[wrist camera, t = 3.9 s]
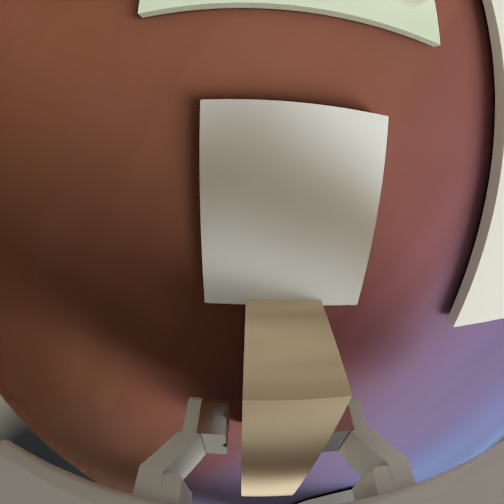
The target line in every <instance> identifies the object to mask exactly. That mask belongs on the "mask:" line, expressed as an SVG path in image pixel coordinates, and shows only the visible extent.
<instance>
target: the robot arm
mask: <svg viewBox="0 0 504 504" xmlns="http://www.w3.org/2000/svg"><path fill="white" fill-rule="evenodd" d="M228 432H229V400H217V399H205V398H196V397H189V400H188V403H187V408H186V413H185V418H184V424H183V429H182V432H181V431H178V432H177V433H176V434H175V435H174V436H173V437H171V438H170V439H169V440H168V441H167V442H166V443H165V444H164V445H163V446H161V447H160V448H159V449H158V450H157V451H156V452H155V453H154V454H152V455H151V456H150V457H149V458H148V459H147V460H145V461H144V462H143V463H142V464H141V465H140V466H139V470H138V474H137V478H136V482H135V486H134V490H133V494H129V493H126V492H122V491H119V490H116V489H113V488H110V487H107V486H104V485H101V484H98V483H95V482H92V481H89V480H87V479H84V478H82V477H79V476H77V475H75V474H72V473H70V472H67V471H65V470H63V469H61V468H59V467H57V466H54V465H52V464H50V463H48V462H46V461H44V460H43V459H41V458H38V457H37V456H35V455H33V454H31V453H30V452H28V451H26V450H24V449H23V448H21V447H19V446H17V445H16V444H14V443H13V442H11V441H8V440H3V441H0V504H191V497H192V493H191V491H190V490H189V488H188V486H187V485H186V483H185V481H184V478H185V477H186V476H187V475H188V474H189V473H190V472H191V471H192V469H193V468H194V467H195V466H196V465H197V464H198V463H199V461H200V460H201V459H202V458H203V457H204V456H205V454H206V453H216V454H227V450H228ZM337 450H338V452H339V453H340V455H341V456H342V457H343V458H344V459H345V460H346V461H347V462H348V463H349V464H350V466H351V467H352V468H353V469H354V470H355V471H356V472H357V473H358V474H359V475H360V476H361V477H362V478H363V479H362V480H361V481H359V482H358V483H357V484H356V485H355V486H354V487H353V488H352V489H351V490H347V491H343V492H338V493H334V494H330V495H326V496H322V497H318V498H314V499H311V500H307V501H304V502H301V503H298V504H504V440H503V441H501V442H500V443H498V444H497V445H495V446H493V447H492V448H490V449H488V450H487V451H485V452H483V453H481V454H480V455H478V456H476V457H474V458H472V459H470V460H468V461H466V462H464V463H462V464H460V465H458V466H456V467H454V468H452V469H450V470H448V471H445V472H443V473H441V474H438V475H436V476H434V477H431V478H429V479H426V480H423V481H421V482H418V483H415V480H414V476H413V473H412V470H411V466H410V463H409V460H408V458H407V457H406V456H405V455H404V454H402V453H401V452H400V451H399V450H397V449H396V448H395V447H394V446H392V445H391V444H390V443H389V442H387V441H386V440H385V439H384V438H383V437H381V436H380V435H379V434H378V433H376V432H375V431H374V430H373V429H372V428H367V425H366V422H365V418H364V415H363V412H362V408H361V405H360V402H359V399H358V397H357V396H352V397H351V399H350V401H349V403H348V405H347V407H346V409H345V411H344V413H343V415H342V417H341V419H340V421H339V423H338V425H337V426H336V428H335V430H334V432H333V434H332V435H331V437H330V439H329V440H328V442H327V444H326V446H325V447H324V449H323V451H322V452H327V451H337Z"/></svg>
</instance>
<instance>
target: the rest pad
mask: <svg viewBox="0 0 504 504" xmlns="http://www.w3.org/2000/svg"><path fill="white" fill-rule="evenodd" d="M482 1H483V5H484V9H485V14H486V18H487V23H488V29H489V34H490V41H491V48H492V56H493V66H494V80H495V128H494V143H493V154H492V163H491V170H490V177H489V183H488V189H487V195H486V200H485V205H484V209H483V214H482V218H481V222H480V226H479V230H478V234H477V238H476V241H475V245H474V248H473V251H472V255H471V258H470V261H469V264H468V267H467V270H466V273H465V276H464V278H463V281H462V284H461V287H460V289H459V292H458V294H457V297H456V299H455V302H454V304H453V307H452V309H451V311H450V313H449V316H448V318H447V320H448V321H449V322H450V323H451V325H452V326H453V327H457V326H463V325H469V324H475V323H481V322H486V321H491V320H496V319H501V318H504V0H482Z"/></svg>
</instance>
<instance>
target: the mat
mask: <svg viewBox="0 0 504 504" xmlns="http://www.w3.org/2000/svg"><path fill="white" fill-rule="evenodd" d="M216 8H266V9H281V10H292V11H301V12H309V13H316V14H322V15H328V16H334V17H339V18H344V19H348V20H353V21H357V22H361V23H365V24H369V25H373V26H376V27H380V28H383V29H386V30H390V31H393V32H396V33H399V34H402V35H405V36H407V37H410V38H413V39H416V40H418V41H421V42H423V43H426V44H428V45H431V46H433V47H435V46H438V45H440V36H439V27H438V19H437V13H436V7H435V1H434V0H428V1H426V2H424V3H422V4H421V5H419V6H417V7H415V8H414V9H410V8H408V7H405V6H403V5H400V4H397V3H394V2H391V1H388V0H140V2H139V8H138V14H139V15H140V16H141V17H142V18H144V17H149V16H155V15H160V14H167V13H174V12H181V11H190V10H201V9H216Z"/></svg>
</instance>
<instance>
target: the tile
mask: <svg viewBox="0 0 504 504" xmlns="http://www.w3.org/2000/svg"><path fill="white" fill-rule="evenodd" d="M388 1H391V2H394V3H397V4H400V5H403V6H405V7H408V8H410V9H414V8H415V7H417V6H419V5H421V4H422V3H424V2H426V1H428V0H388Z"/></svg>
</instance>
